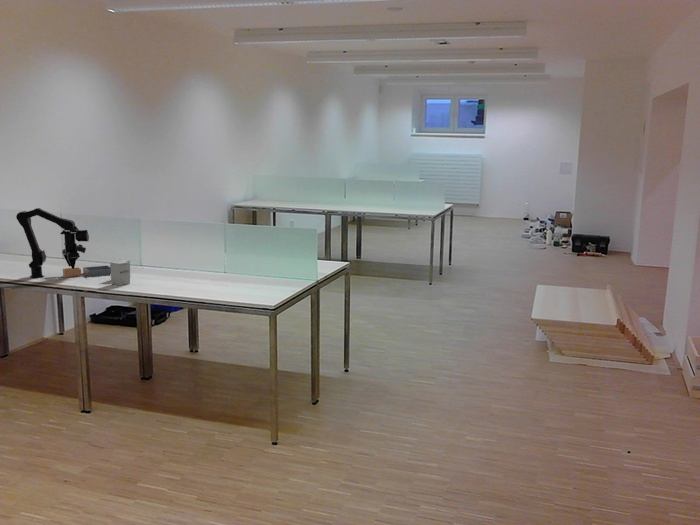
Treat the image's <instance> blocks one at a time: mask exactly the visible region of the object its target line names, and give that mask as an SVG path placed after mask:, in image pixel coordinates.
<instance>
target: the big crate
mask: <svg viewBox="0 0 700 525" xmlns="http://www.w3.org/2000/svg"><path fill="white" fill-rule="evenodd" d="M82 273H83V274H84V275H85V276H87V277H90V278H91V277H100V276H101V277H103V276H110V275H109V274H111V268H110V266H109V265H97V266H96V265H95V266H86V267H85V266H84V267H82ZM102 275H103V276H102Z"/></svg>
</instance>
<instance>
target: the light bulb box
mask: <svg viewBox="0 0 700 525" xmlns="http://www.w3.org/2000/svg"><path fill="white" fill-rule="evenodd" d="M118 261H125V262H129V270H130V271H131V261H130V260H129V259H118V260H114V261H113V262H118ZM111 262H112V261H110V262H109V264H110V263H111ZM109 267H110V268H111V264H110V266H109Z"/></svg>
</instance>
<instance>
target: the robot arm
mask: <svg viewBox="0 0 700 525" xmlns="http://www.w3.org/2000/svg"><path fill="white" fill-rule="evenodd" d="M15 217H16V218H15V219H16V220H17V222H18V223H19V225H20V226H21V227H22V228H23V231H24V234H25V236H26V238H27V241H28V244H29V247H30V250H31V258H32V261H31V262H30V263H28V267H29V268H30V274H31V275H29V277H30V278H31V279H35V278H36V279H37V278H44V275H43V268H42V267H43V264H44V263H45V262H46V260H47V254H46V252H45V250H44V249H43V250H42V249H41V248H40V246H39V243H38V241H37V238H36V235H35V232H34V230H33V227H32V218H33V217H40V218H41V219H42V218H43V219H45V220H46V221H50V222H51V223H54V224H56V225H57V226H58V227H60V228H61V229H63V230H62V231H61V232H60V235H63V237H64V243H63V245H64V249H62V250H61V254H62V256H63V258H64V259H65V262H66V263H67V265H68V267H70V268H72V269H74V268H76V267H75V265H76V263H77V262H76V261H77V260H78V259H79V258H80V253H82V254H85V253H86V250H87V247H84V246H83V245H82V244H80V243H78V245H77V243H76V241H77V242H89V240H90V234H89V233H88V232H89V231H88V230H87V229H84V230H83V229H81V230H80V229H79V228H78V227H77V226H76V223H75V221H73V220H72V219H67V218H64V217H60V216H57V215H55V214H53V213H50V212H48V211H46V210H43V209H42V208H40V207H37V208H34V209H31V210H29V211H26V210H24V211H19V212H18V213H17V214H16V215H15Z"/></svg>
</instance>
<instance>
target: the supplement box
mask: <svg viewBox="0 0 700 525" xmlns="http://www.w3.org/2000/svg"><path fill="white" fill-rule="evenodd" d="M110 262H111V263H110ZM110 262H109V264H111V275H110V282H111V285H113V284H115V285H114V286H118V285H120V286H123V285H130V284H131V269H130V270H129V262H125V261H118V262H114V261H110Z"/></svg>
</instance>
